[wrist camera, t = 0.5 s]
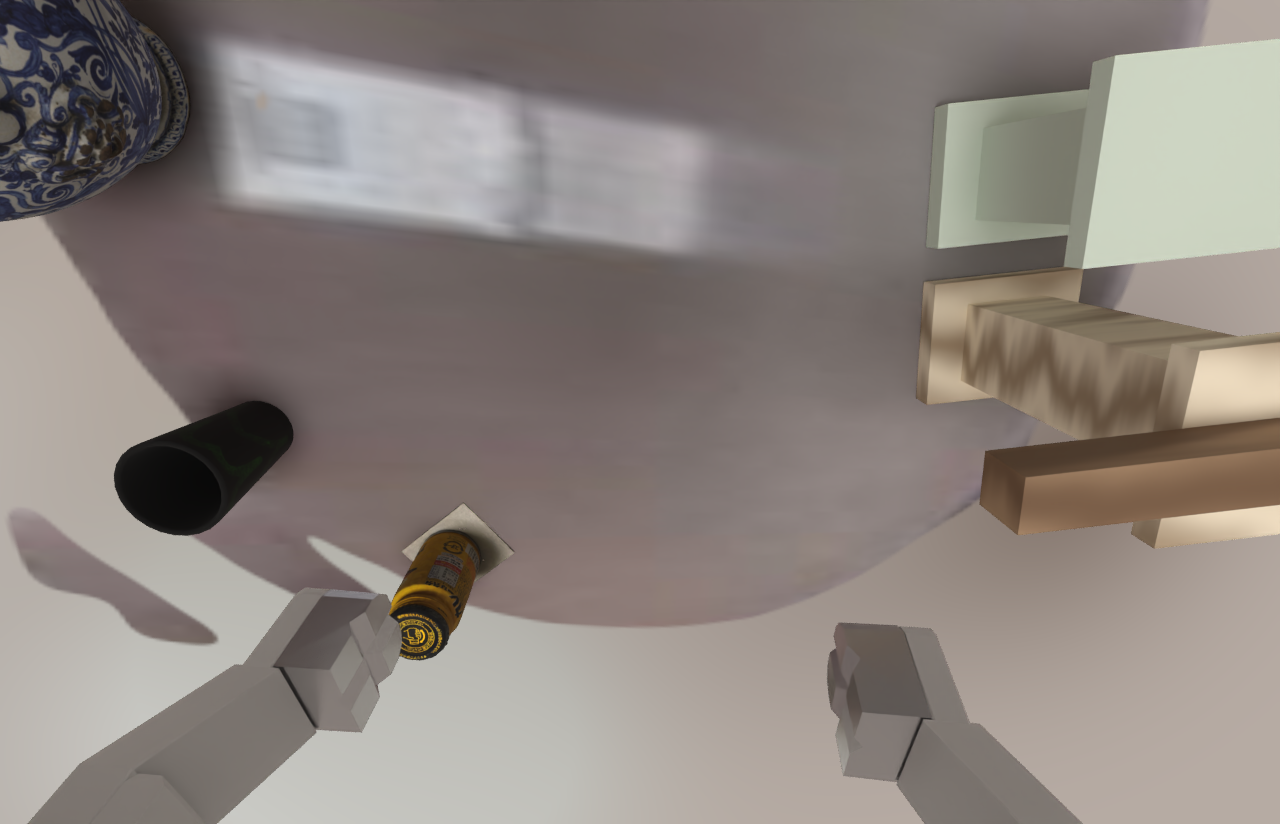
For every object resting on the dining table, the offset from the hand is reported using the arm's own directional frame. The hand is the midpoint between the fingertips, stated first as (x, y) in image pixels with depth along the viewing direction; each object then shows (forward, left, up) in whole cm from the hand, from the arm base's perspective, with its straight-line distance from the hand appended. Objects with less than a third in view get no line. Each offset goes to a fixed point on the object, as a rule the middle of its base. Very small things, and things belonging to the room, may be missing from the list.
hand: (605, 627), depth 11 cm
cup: (+9, -33, -43) cm, 55 cm away
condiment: (+24, -18, -43) cm, 53 cm away
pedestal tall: (+8, +35, -43) cm, 56 cm away
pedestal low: (-6, +35, -43) cm, 56 cm away
